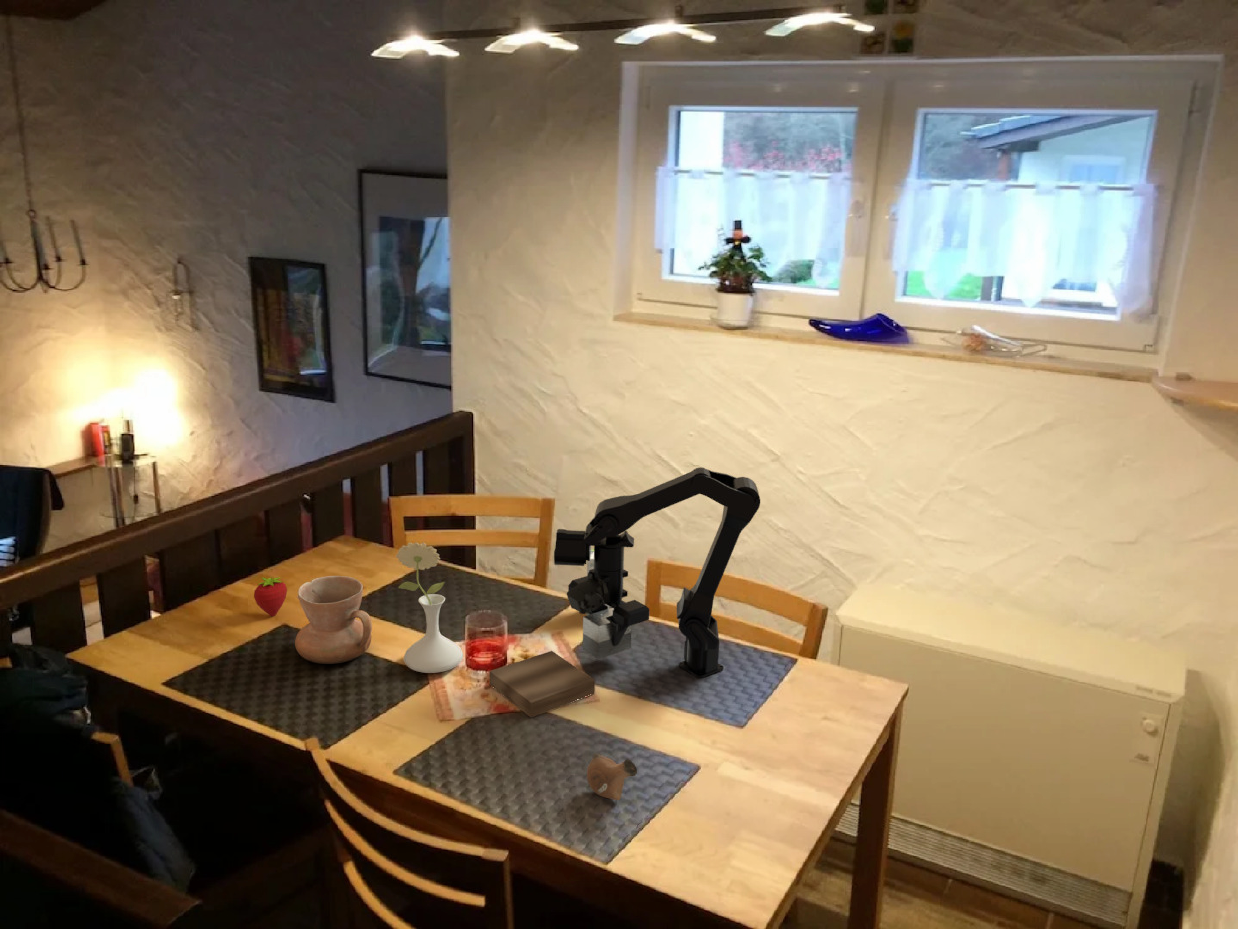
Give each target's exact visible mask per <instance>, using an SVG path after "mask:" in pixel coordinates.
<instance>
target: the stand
mask: <svg viewBox="0 0 1238 929" xmlns="http://www.w3.org/2000/svg"><path fill="white" fill-rule="evenodd" d="M595 681H596V680H595V679H594V678H593V677H591V676H590V675H588V674H587V673H586V672H584V671H582V670H581V669H579V668H578V667H577V666H575V665H573V664H572V663H571V662H569V660H566V659H565V658H563V657H562V656H560V655H559V654H557V653H556V652H554V651H553V650H550V651H547V652H546V651H545V653H544V652H543V653H540V654H537V655H535V656H531V657H527V658H525V659H522V660H518V661H517V662H513V663H510V664H507V665H505V666H501V667H497V668H495V669H491V670H489V686H490V685H491V686H492V687H494V688H495V689H496V690H497V691H496V690H495V689H494V688H493V689H494V690H495V691H496V692H497V693H499V694H500V693H501V694H502V696H503V697H504V698H505V699H506V700H508V702H509V701H511V703H512V704H513V705H514V706H516V707H517V708H518V709H519V710H521V711H522V712H523V713H524V714H525V715H527V716H529V718H534V717H537V716H539V715H543V714H544V713H545V714H546V713H547V712H551V711H553V710H556V709H558V708H561V707H564V706H566V705H569V704H571V702H572V703H574V702H573V701H575V700H577V699H580V700H582V699H581V698H583V699H585V698H584V697H585V696H588V695H590V694H594V693H595V689H596V688H595V685H596V682H595ZM491 686H490V687H491ZM492 687H491V688H492ZM501 694H500V695H501ZM594 695H595V694H594ZM588 697H589V696H588ZM575 702H576V701H575Z"/></svg>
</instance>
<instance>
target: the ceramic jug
mask: <svg viewBox="0 0 1238 929" xmlns="http://www.w3.org/2000/svg"><path fill="white" fill-rule="evenodd" d="M363 590H364V586H363V584H362V582H360V580H358V579H356V578H354V577H351V576H345V575H342V576H341V575H328V576H321V577H317V578H314V579H311V581H310V582H309V581H307V582H305V583H302V585H300V587H298V590H297V597H296V598H297V599H298V601H299V604H300V607H301V609H302V611H303V613H304V615H305V616H306V619H307V621H308V623H307V624H305V625H304V626H303V627H302V628H301V629H300V630H299V631H298V632H297V635H296V636H295V641H294V647H295V649H296V651H297V653H298V654H299V655H300V656H301V657H302V658H303V659H305V660H307V661H309V662H312V663H316V664H322V665H323V664H324V665H332V664H333V665H334V664H340V663H341V664H342V663H345V662H349V661H352V660H354V659H356V658H359V657H360V656H361V655H363V654H364V653H365V652H366V651H367V650H368V649H369V648H370V645H371V644H372V636H373V635H372V631H373V622H372V618H371V617H370V615H369V614H368V613H367V612H366V611H365V610H362V609H361V610H360V607H361V604H362V599H363V593H364V592H363Z"/></svg>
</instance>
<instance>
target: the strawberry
mask: <svg viewBox="0 0 1238 929" xmlns="http://www.w3.org/2000/svg"><path fill="white" fill-rule="evenodd" d="M281 578H282V576H281V577H279V576H278V577H268V578H266V577H261V580H262V582H260V583H257V587H256V588H255V590H254V593H253V598H254V600H255V603H256V604H257V606H258V607H259V608H260V609H261V610H262V611H264V612H265V613H266V614H268V616H270V617H275V616H277V614H278V613H279V610H280V609H281V608H282V606H283V604H284V602H285V600H286V597H287V593H288V588H287V585H286V583H285V582H284V581H281V580H279V579H281Z"/></svg>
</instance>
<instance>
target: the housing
mask: <svg viewBox="0 0 1238 929" xmlns="http://www.w3.org/2000/svg"><path fill="white" fill-rule="evenodd" d="M613 610H614V608H610V609H607V610H603V611H600V612H597V613H594V614H591V615H587V616H586V615H585V616H582V617H583V618H582V650H583V651H584V652H586V653H588V655H591V657H594V658H595V659H597V660H601V659H604V658H606V657H609V656H612V655H615V654H618V653H621V652H624V651H627V650H630V649H632V628H633V627H632V626H633V625H631V626H629V627H628V628H627V630H626V632H625V633H624V635H623V637H622V639H621V641H620V643H619V644H618V645H617V646H613V643H612V631H611V623H610V622H609V621H608V620H607V619H606V617H609V616H612V615H613Z"/></svg>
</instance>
